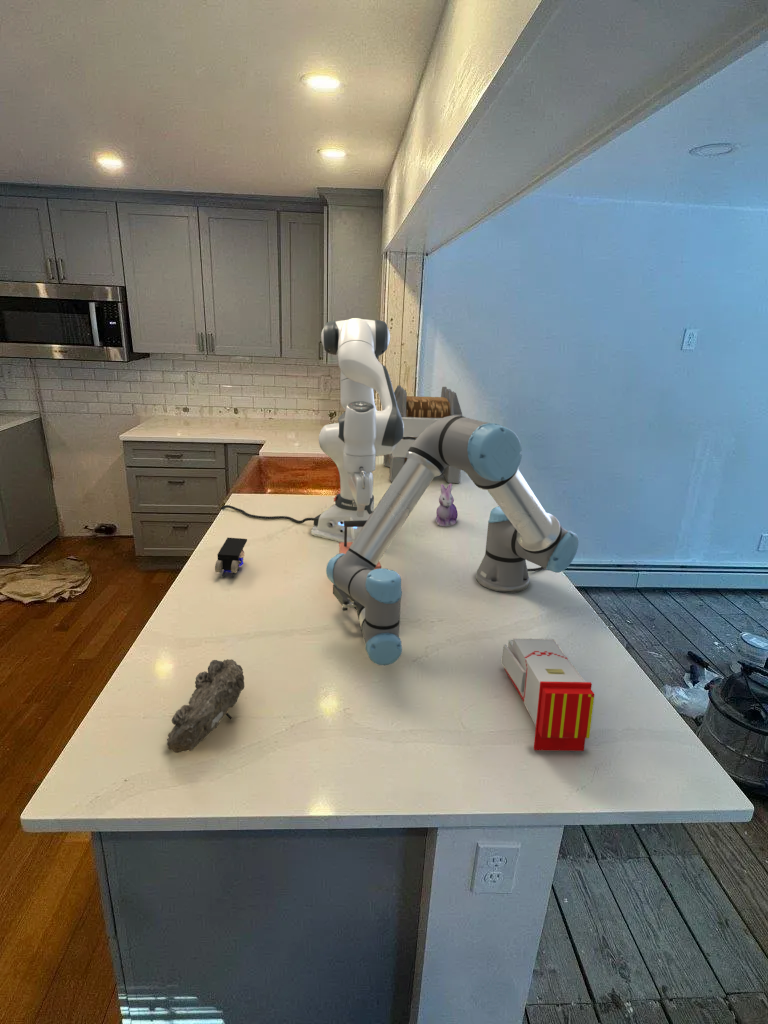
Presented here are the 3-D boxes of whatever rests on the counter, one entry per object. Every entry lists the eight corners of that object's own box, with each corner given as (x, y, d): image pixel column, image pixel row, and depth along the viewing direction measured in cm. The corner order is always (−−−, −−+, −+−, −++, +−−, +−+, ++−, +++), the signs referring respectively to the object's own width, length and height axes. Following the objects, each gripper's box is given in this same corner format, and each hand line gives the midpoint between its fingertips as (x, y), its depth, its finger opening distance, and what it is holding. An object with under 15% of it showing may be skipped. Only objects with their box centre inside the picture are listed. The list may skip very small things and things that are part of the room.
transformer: (382, 463, 289) (386, 382, 275) (445, 464, 293) (451, 384, 279) (390, 482, 257) (394, 392, 243) (460, 483, 261) (468, 394, 247)
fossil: (192, 660, 117) (244, 628, 112) (224, 691, 120) (276, 661, 115) (142, 746, 98) (202, 712, 93) (182, 779, 101) (242, 748, 96)
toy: (549, 621, 128) (604, 690, 99) (544, 676, 131) (595, 758, 101) (496, 620, 128) (535, 688, 98) (492, 675, 130) (528, 757, 101)
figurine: (442, 528, 206) (446, 489, 201) (428, 519, 214) (431, 481, 209) (464, 525, 210) (468, 486, 205) (449, 516, 218) (452, 479, 213)
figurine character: (238, 584, 162) (249, 557, 175) (236, 562, 158) (247, 536, 172) (215, 584, 161) (227, 556, 175) (212, 561, 158) (225, 535, 171)
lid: (338, 545, 165) (339, 517, 162) (371, 544, 167) (372, 516, 164) (345, 571, 149) (346, 540, 146) (381, 569, 151) (382, 539, 148)
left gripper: (376, 472, 145) (374, 523, 150) (365, 454, 164) (364, 499, 169) (352, 473, 144) (351, 523, 149) (343, 454, 163) (343, 499, 168)
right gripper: (326, 632, 133) (320, 588, 153) (419, 627, 136) (400, 584, 157) (327, 604, 130) (320, 563, 151) (421, 600, 134) (402, 560, 155)
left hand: (357, 510), depth 159 cm, fingers open, 8 cm apart
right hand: (361, 574), depth 154 cm, fingers closed on chest, 10 cm apart
